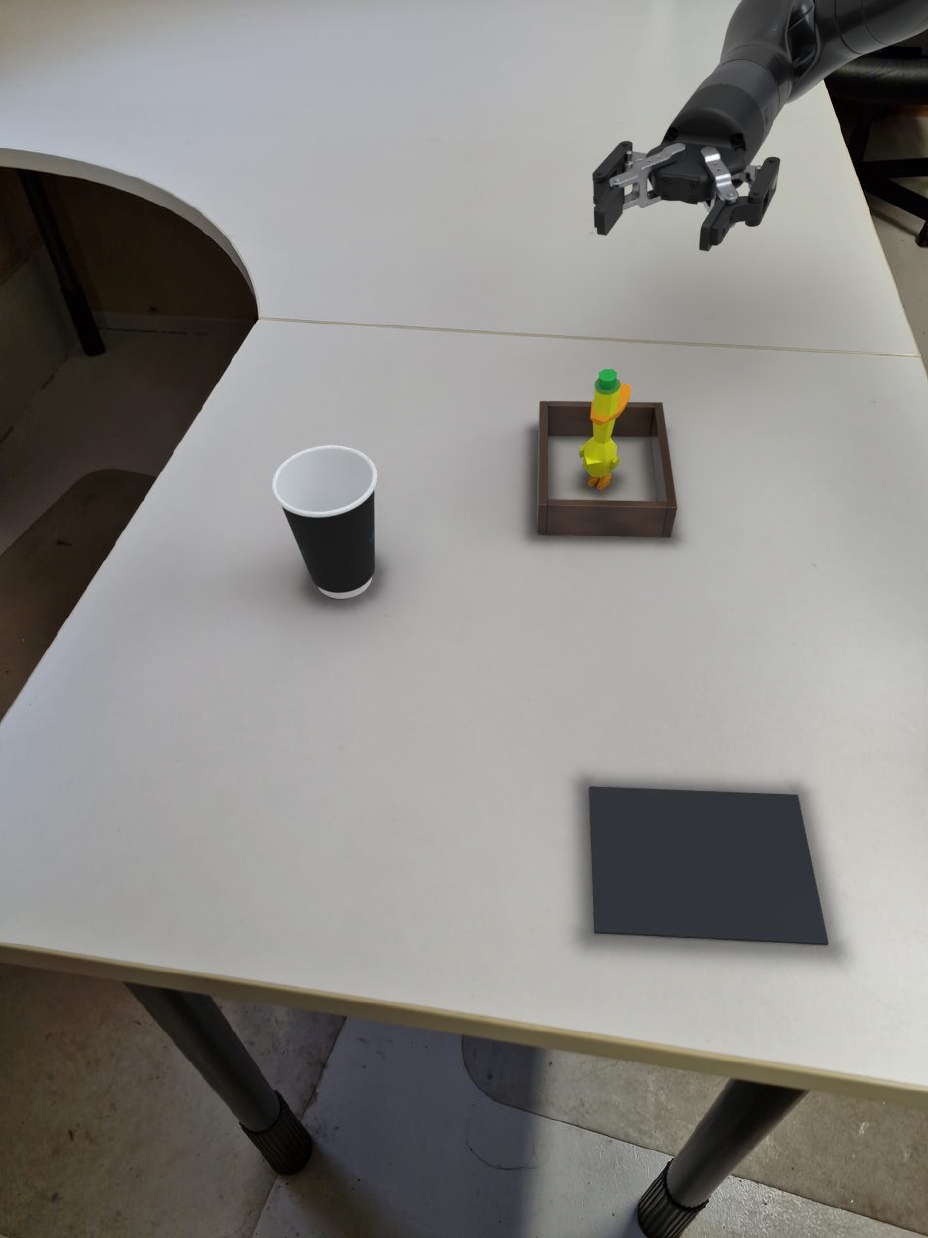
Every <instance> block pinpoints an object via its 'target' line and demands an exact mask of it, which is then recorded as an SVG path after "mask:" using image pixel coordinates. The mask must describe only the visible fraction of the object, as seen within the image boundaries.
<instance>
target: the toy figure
mask: <svg viewBox="0 0 928 1238" xmlns="http://www.w3.org/2000/svg"><path fill="white" fill-rule="evenodd" d="M593 387H594V397H593V400H592V401H591V402H592V404H591V417H590V419H591V420H592V421H593V436H591V438H589V439H588V440H587V441H586V442H585V443H584V444H581V446H580V448H579V453H578V455H579V458H580V459H582V467H583V468H584V469H585V470H586V472H587V473H588V474H589V475H590V476H589V478H588V482H587V486H588V487H589V486H590V487H594V486H595V485H596V484H597V485H596V489H597V490H599V491H603V489H605V488H606V487H607V486H609V485H610V484H611V481H612V476H613V475H612V474H611V473H610V472H612V471H614V470H616V469H617V467H618V466H619V464H620V462H621V458H620V456H617V451H618V445H617V444H616V443H615V442H614V440H613V439H612V436H611V434H612V430H613V427H614V423H615V419H616V418H617V417H618V416H619V415H620V414H621V413H622V412H623V410H624V408H625V407H626V405H627V403H628V402H630V398H631V394H632V386H631V385H630V384H627V383H625V382H621V381H620V380H619V379H618V372H617V371H616V370H614V369H613V368H604V369H602V370H600V371H599V372H598V378H597V379H596V380H595V381H594V386H593Z"/></svg>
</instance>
